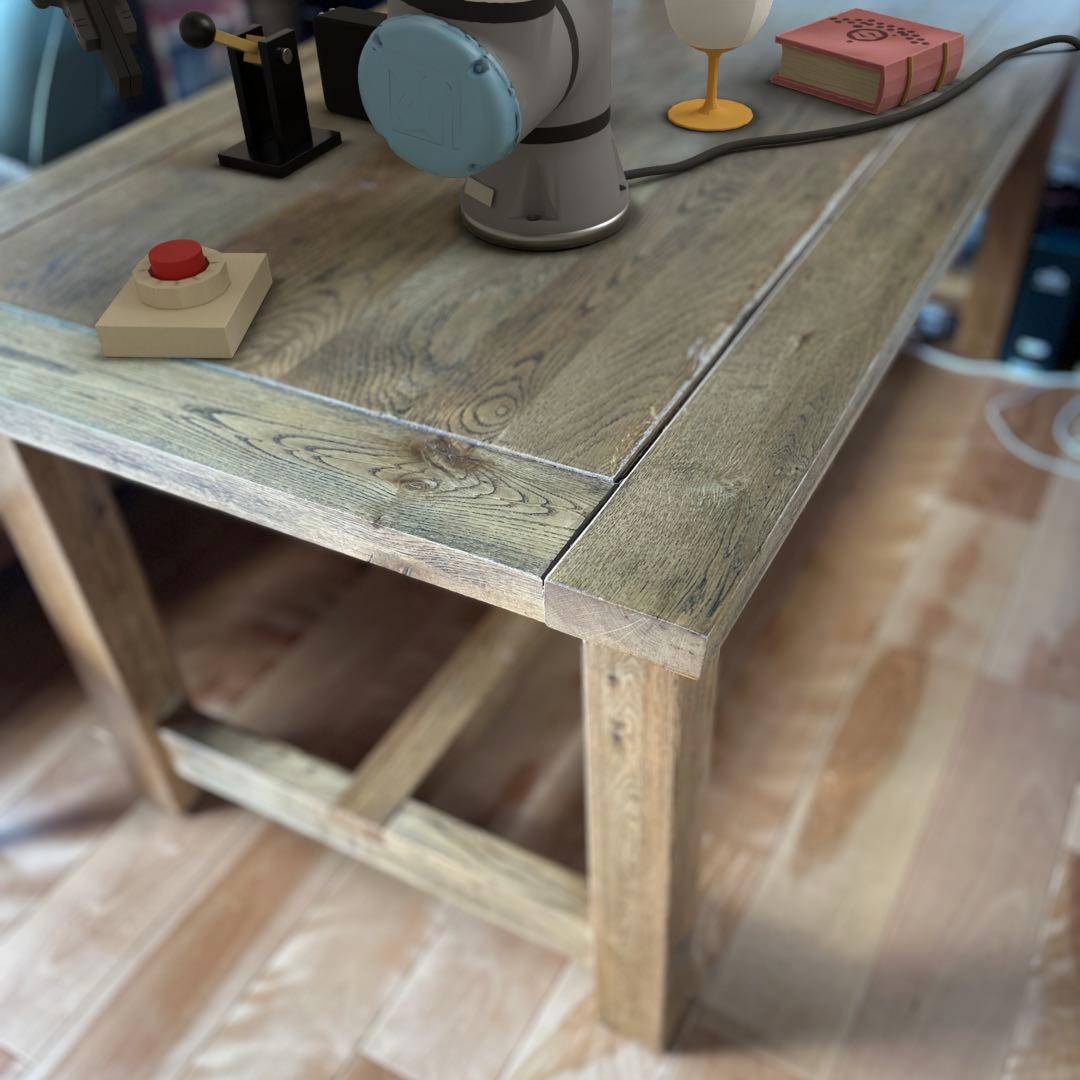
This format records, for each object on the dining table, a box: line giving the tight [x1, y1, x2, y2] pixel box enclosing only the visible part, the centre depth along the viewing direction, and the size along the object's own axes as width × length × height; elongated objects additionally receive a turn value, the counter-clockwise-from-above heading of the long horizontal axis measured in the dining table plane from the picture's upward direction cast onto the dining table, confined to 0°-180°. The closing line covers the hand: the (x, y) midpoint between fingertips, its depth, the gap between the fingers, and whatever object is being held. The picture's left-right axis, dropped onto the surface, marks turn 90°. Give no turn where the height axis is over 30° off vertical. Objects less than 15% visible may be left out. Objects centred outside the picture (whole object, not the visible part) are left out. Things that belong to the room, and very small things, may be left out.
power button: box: [147, 238, 206, 281], centre depth 85 cm, size 4×4×2 cm
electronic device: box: [312, 5, 387, 122], centre depth 119 cm, size 4×10×10 cm, turn 56°
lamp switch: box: [217, 23, 343, 179], centre depth 110 cm, size 10×8×12 cm
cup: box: [664, 0, 774, 132], centre depth 113 cm, size 12×12×17 cm
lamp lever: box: [178, 9, 266, 67], centre depth 103 cm, size 12×3×3 cm, turn 152°
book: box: [770, 7, 965, 115], centre depth 123 cm, size 14×15×5 cm
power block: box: [94, 246, 273, 359], centre depth 87 cm, size 12×10×4 cm
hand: (130, 86), depth 77 cm, fingers closed
